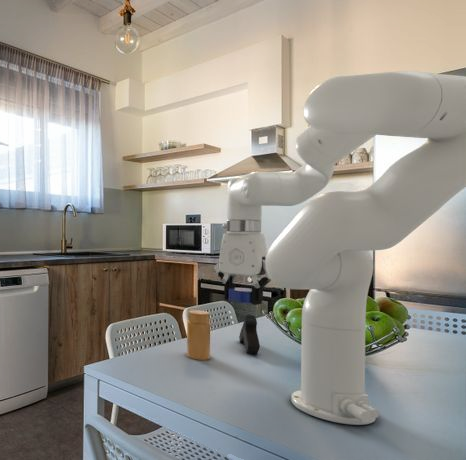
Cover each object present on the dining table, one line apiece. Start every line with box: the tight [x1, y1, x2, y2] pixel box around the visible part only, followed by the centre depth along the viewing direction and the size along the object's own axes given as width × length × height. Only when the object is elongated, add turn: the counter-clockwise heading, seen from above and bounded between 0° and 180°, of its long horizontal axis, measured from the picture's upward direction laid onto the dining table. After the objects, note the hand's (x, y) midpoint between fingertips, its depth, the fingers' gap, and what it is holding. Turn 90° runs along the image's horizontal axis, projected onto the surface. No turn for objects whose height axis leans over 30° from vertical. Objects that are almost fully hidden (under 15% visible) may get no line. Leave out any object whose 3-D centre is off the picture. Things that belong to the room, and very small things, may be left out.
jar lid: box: [228, 287, 252, 304], centre depth 97 cm, size 6×6×3 cm
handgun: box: [238, 313, 261, 355], centre depth 111 cm, size 3×14×10 cm
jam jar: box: [186, 309, 211, 361], centre depth 104 cm, size 6×6×12 cm
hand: (242, 301), depth 97 cm, fingers closed on jar lid, 6 cm apart
